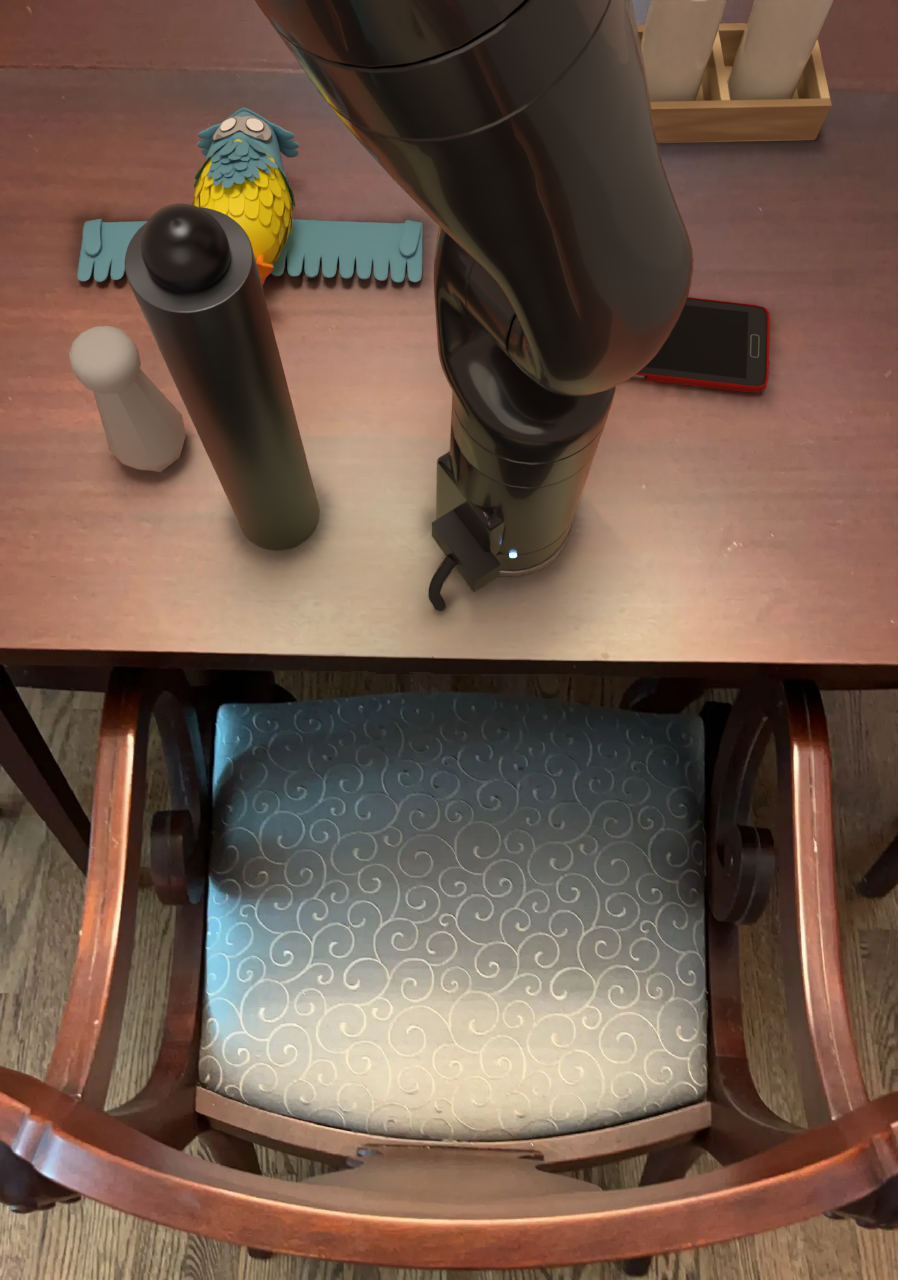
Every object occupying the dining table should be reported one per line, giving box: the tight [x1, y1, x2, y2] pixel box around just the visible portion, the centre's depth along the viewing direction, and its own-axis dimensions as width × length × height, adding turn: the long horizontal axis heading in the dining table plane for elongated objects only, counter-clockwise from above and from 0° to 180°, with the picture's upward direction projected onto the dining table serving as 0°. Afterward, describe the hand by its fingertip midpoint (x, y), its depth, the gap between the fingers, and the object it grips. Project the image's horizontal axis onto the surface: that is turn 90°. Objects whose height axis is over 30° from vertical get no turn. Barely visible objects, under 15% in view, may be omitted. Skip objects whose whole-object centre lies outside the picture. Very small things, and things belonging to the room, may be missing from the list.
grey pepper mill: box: [124, 203, 320, 551], centre depth 57 cm, size 6×6×30 cm
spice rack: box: [636, 22, 833, 144], centre depth 82 cm, size 9×26×4 cm, turn 93°
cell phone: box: [631, 296, 771, 393], centre depth 76 cm, size 8×15×1 cm, turn 83°
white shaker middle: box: [640, 0, 728, 102], centre depth 77 cm, size 6×6×13 cm
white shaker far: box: [727, 0, 835, 100], centre depth 77 cm, size 6×6×13 cm
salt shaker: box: [68, 325, 187, 473], centre depth 67 cm, size 6×6×13 cm
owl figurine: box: [76, 106, 424, 286], centre depth 75 cm, size 28×9×15 cm
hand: (590, 40), depth 50 cm, fingers open, 8 cm apart
